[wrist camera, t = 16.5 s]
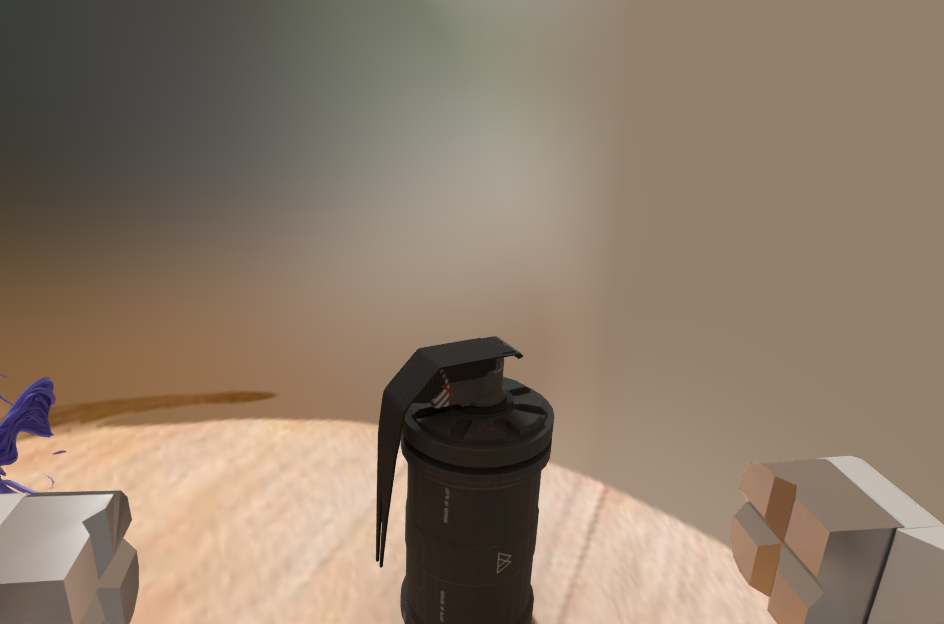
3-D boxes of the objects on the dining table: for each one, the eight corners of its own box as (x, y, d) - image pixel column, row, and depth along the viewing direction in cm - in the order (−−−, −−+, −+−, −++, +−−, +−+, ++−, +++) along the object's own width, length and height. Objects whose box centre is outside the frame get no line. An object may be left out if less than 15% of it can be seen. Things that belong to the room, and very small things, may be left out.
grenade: (560, 641, 45) (593, 366, 38) (407, 707, 40) (413, 403, 33) (489, 555, 52) (506, 312, 45) (353, 602, 47) (349, 336, 40)
